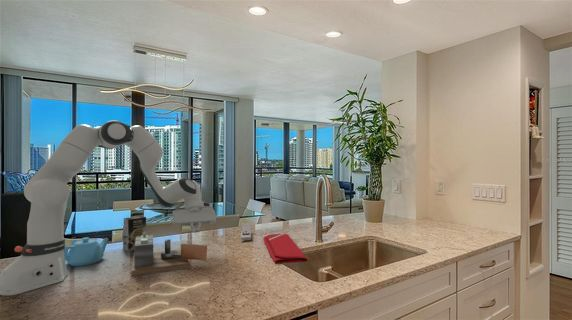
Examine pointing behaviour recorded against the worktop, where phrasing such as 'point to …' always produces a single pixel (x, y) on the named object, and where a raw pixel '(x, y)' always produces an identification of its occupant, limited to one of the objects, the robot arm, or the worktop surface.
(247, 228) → the mobile phone
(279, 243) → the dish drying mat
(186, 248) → the wooden lever
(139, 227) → the coffee box
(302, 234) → the worktop surface
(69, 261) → the teapot
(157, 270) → the stand
